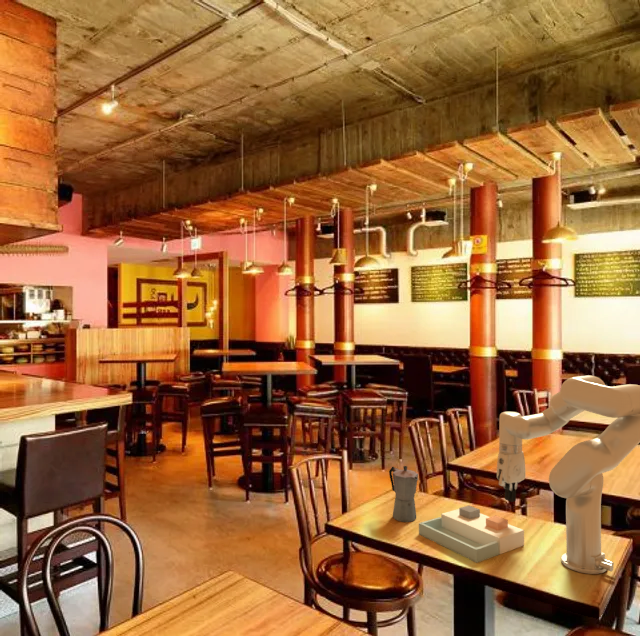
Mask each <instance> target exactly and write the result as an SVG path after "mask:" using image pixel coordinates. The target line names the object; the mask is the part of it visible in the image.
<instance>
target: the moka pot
mask: <svg viewBox="0 0 640 636" xmlns="http://www.w3.org/2000/svg"><path fill="white" fill-rule="evenodd" d="M388 473H389V474H388V475H389V479H390V482H391V484H390V485H391V490H392V491H393V492H394V493H395V498H394V505H393V511H392V517H393V519H394V520H396V521H398V522H400V523H401V522H404V523H411V522H414V521H416V520H417V511H416V502H415V496H416V495H415V494H416V492H417V485H418V481H419V473H417V472H416V471H415V470H410V469H408V466H407V465H404V466H403V469H399V468H398V467H397V468H396V467H394V466H391V468H390V469H389V471H388Z"/></svg>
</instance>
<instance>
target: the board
mask: <svg viewBox="0 0 640 636" xmlns="http://www.w3.org/2000/svg"><path fill="white" fill-rule="evenodd" d="M440 517H441V518H442V527H443V528H445V529H448V530H450V531H452V532H454V533H457V534H459V535H461V536H463V537H465V538H468V539H470V540H472V541H474V542H477V543H479V544H481V545H486V544H489V543H492V542H495V541H497V542H498V552H499V553H500V554H499V555H501V554H504V553H507V552H510V551H513V550H515V549H518V548H520V547H523V546H525V530H524V529H523V528H520V527H517V526H514V525H511V524H510V523H508V527H507V528H504V529H501V530H498V531H497V530H495V529H493V528H490V527H488V526H486V518H489V517H490V516H488V515H486V514H483V513H481V512H480V517H476V518H473V519H468V518H465V517H463V516H460V515H459V508H457V509H453V510H450V511H447V512H443V513H441V514H440Z"/></svg>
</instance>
